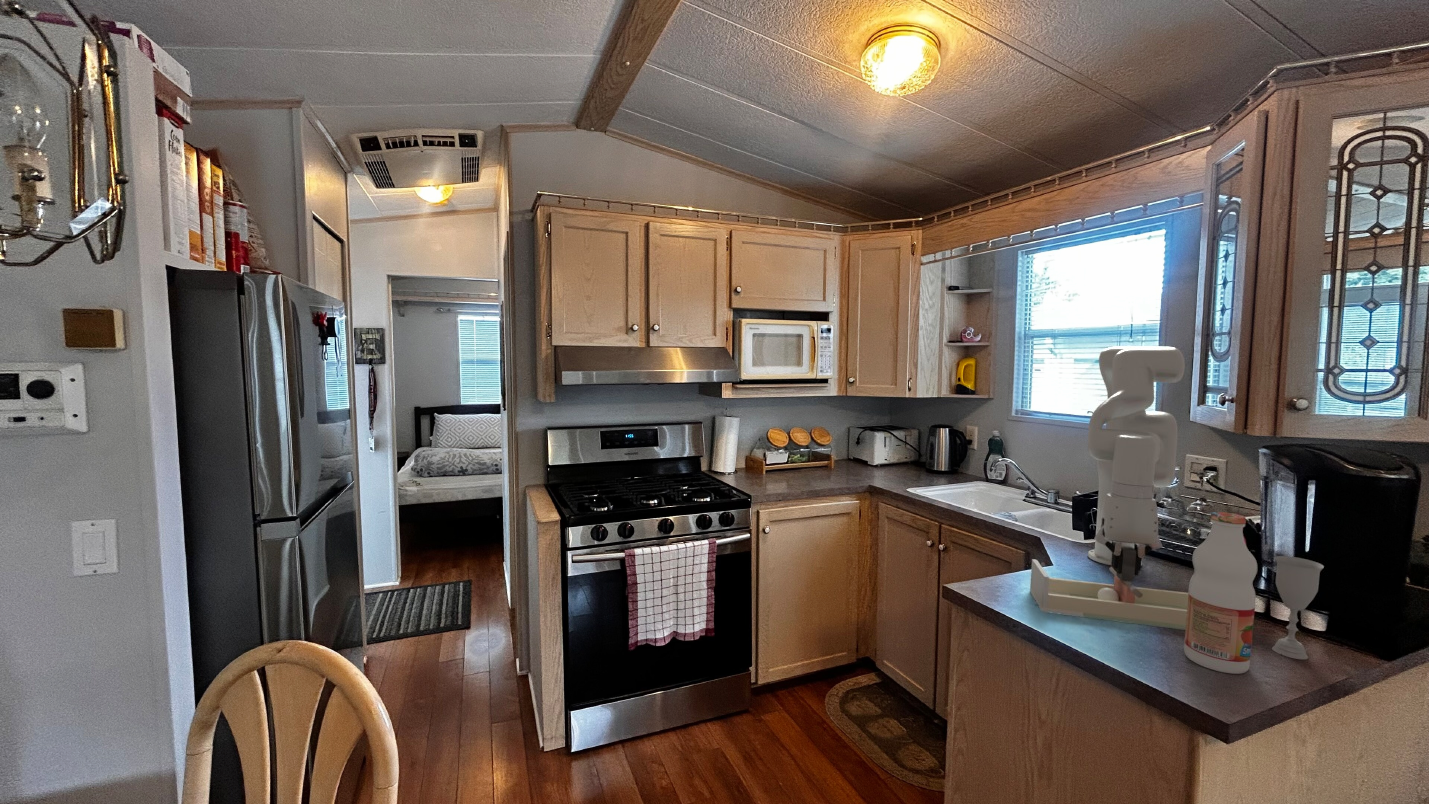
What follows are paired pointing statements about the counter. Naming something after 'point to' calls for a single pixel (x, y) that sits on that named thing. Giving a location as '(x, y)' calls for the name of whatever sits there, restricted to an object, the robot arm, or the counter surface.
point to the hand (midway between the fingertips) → (1125, 571)
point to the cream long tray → (1107, 601)
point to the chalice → (1295, 597)
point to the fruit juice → (1221, 598)
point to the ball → (1108, 594)
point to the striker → (1126, 577)
